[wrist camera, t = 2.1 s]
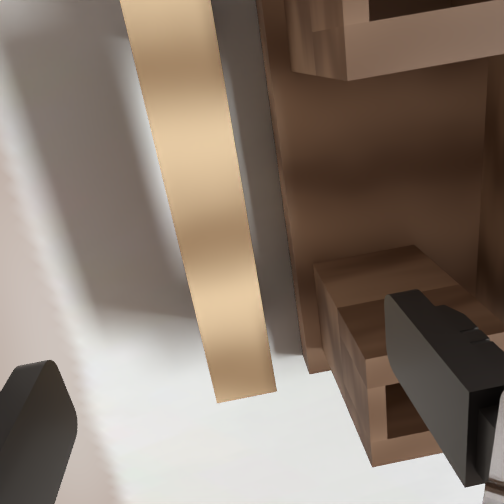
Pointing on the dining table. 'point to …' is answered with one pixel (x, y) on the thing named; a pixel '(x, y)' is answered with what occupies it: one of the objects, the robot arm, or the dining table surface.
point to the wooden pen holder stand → (387, 182)
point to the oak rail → (203, 186)
